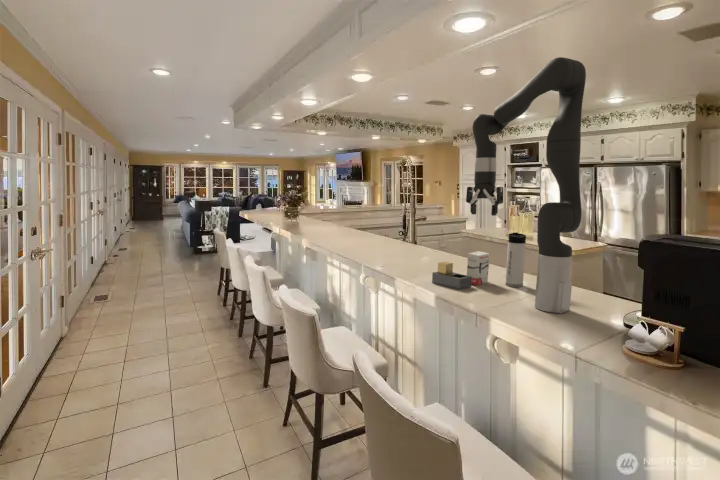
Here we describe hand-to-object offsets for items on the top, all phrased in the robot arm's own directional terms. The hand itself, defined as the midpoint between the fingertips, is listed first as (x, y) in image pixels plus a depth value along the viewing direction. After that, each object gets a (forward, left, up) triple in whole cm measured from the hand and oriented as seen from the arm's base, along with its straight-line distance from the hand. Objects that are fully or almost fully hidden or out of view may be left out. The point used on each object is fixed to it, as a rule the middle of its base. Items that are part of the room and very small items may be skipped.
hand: (483, 214), depth 153 cm
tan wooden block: (+10, +8, -27) cm, 30 cm away
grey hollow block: (+7, +8, -27) cm, 29 cm away
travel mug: (-8, -11, -27) cm, 30 cm away
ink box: (+3, -3, -27) cm, 28 cm away
